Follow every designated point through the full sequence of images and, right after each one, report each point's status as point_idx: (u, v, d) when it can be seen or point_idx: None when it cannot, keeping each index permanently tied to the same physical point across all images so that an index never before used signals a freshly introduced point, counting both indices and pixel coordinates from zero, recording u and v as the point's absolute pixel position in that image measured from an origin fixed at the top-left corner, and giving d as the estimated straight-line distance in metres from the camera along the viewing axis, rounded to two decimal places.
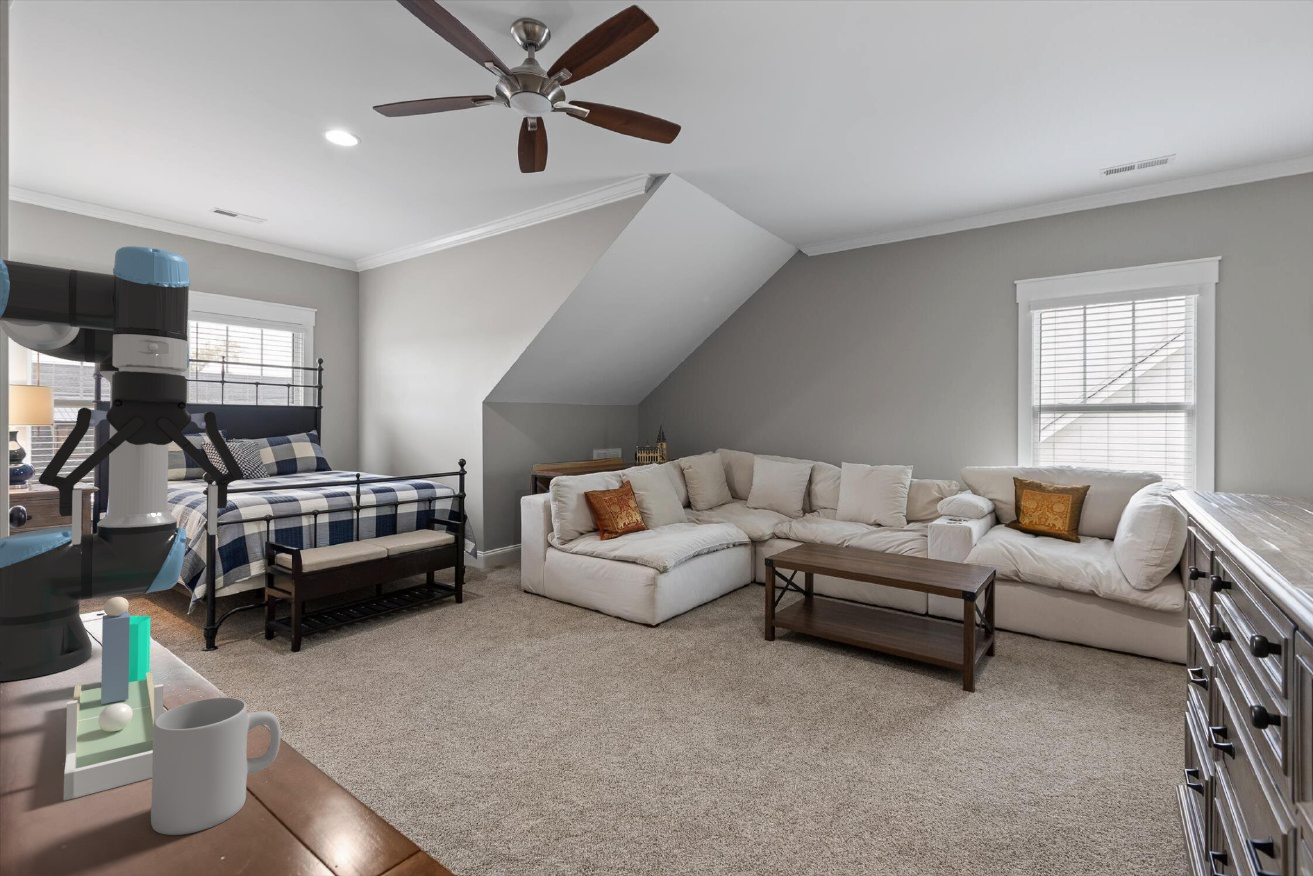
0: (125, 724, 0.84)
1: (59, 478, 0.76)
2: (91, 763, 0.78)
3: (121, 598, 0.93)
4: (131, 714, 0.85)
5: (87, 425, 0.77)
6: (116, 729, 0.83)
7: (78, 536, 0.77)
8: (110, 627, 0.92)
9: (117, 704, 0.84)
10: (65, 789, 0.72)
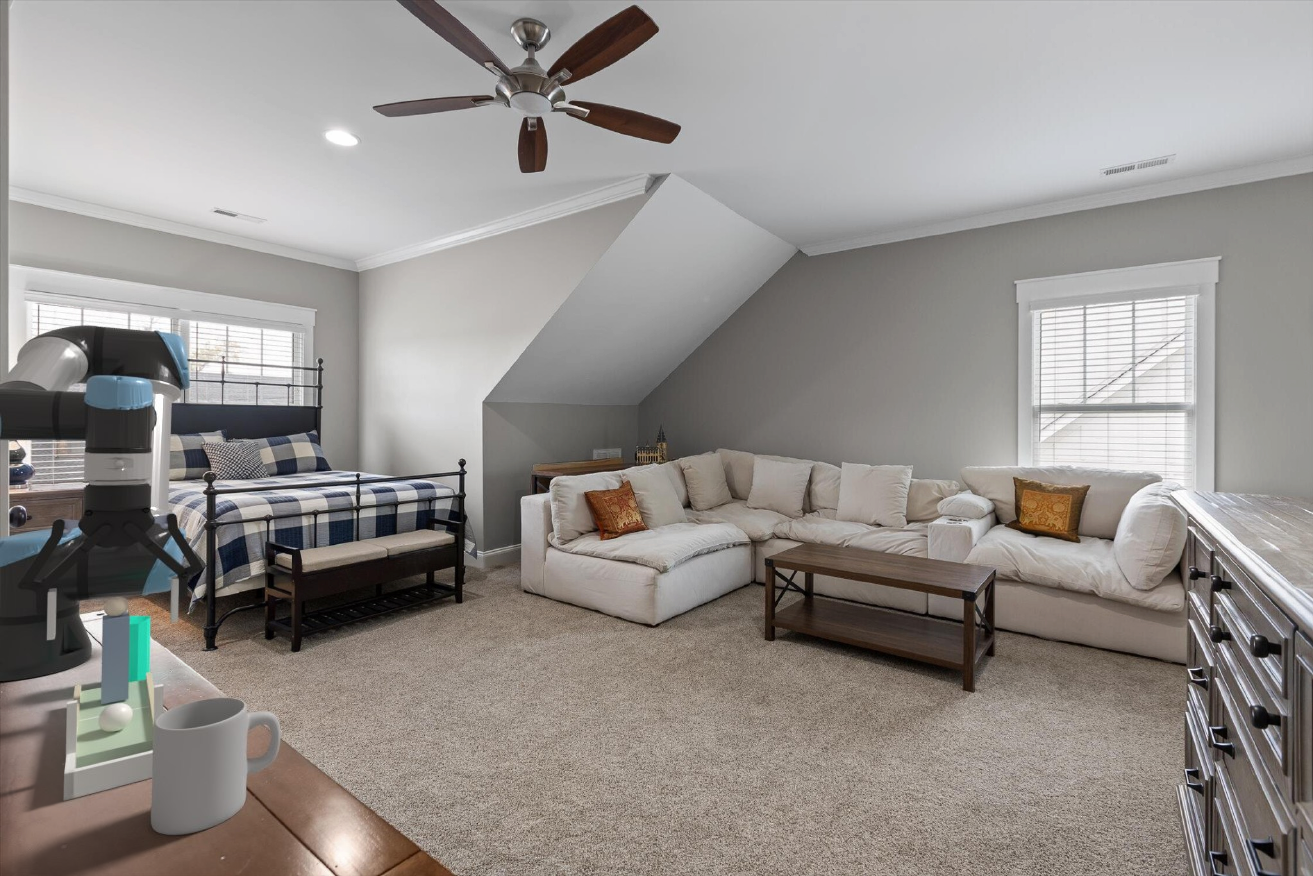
0: (125, 724, 0.84)
1: (36, 582, 0.87)
2: (91, 763, 0.78)
3: (121, 598, 0.93)
4: (131, 714, 0.85)
5: (61, 534, 0.88)
6: (116, 729, 0.83)
7: (52, 632, 0.87)
8: (110, 627, 0.92)
9: (117, 704, 0.84)
10: (65, 789, 0.72)
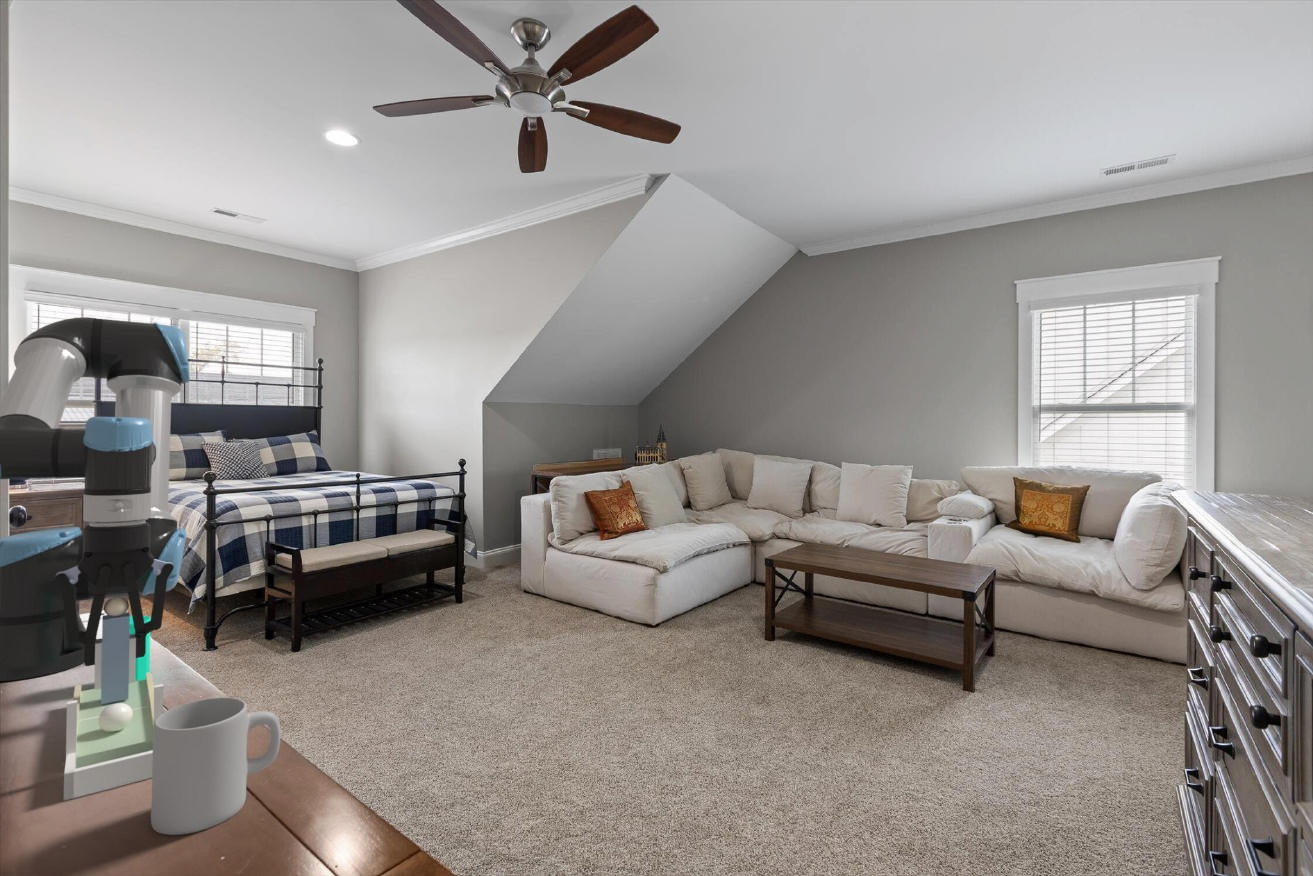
0: (125, 724, 0.84)
1: (84, 634, 0.90)
2: (91, 763, 0.78)
3: (121, 598, 0.93)
4: (131, 714, 0.85)
5: (70, 585, 0.89)
6: (116, 729, 0.83)
7: (100, 682, 0.91)
8: (110, 627, 0.92)
9: (117, 704, 0.84)
10: (65, 789, 0.72)
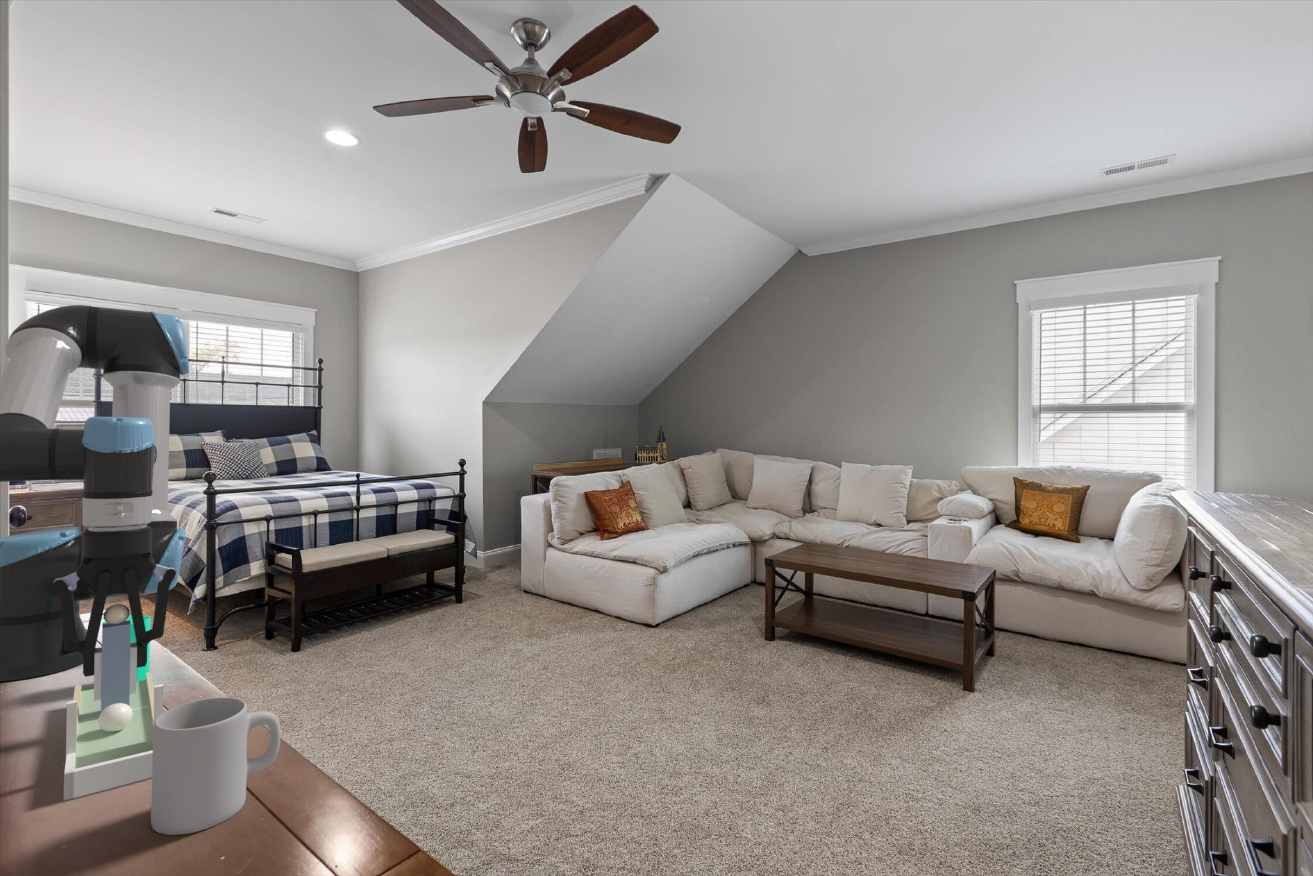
0: (125, 724, 0.84)
1: (83, 644, 0.87)
2: (91, 763, 0.78)
3: (122, 605, 0.90)
4: (131, 714, 0.85)
5: (69, 592, 0.85)
6: (116, 729, 0.83)
7: (99, 693, 0.87)
8: (110, 636, 0.88)
9: (117, 704, 0.84)
10: (65, 789, 0.72)
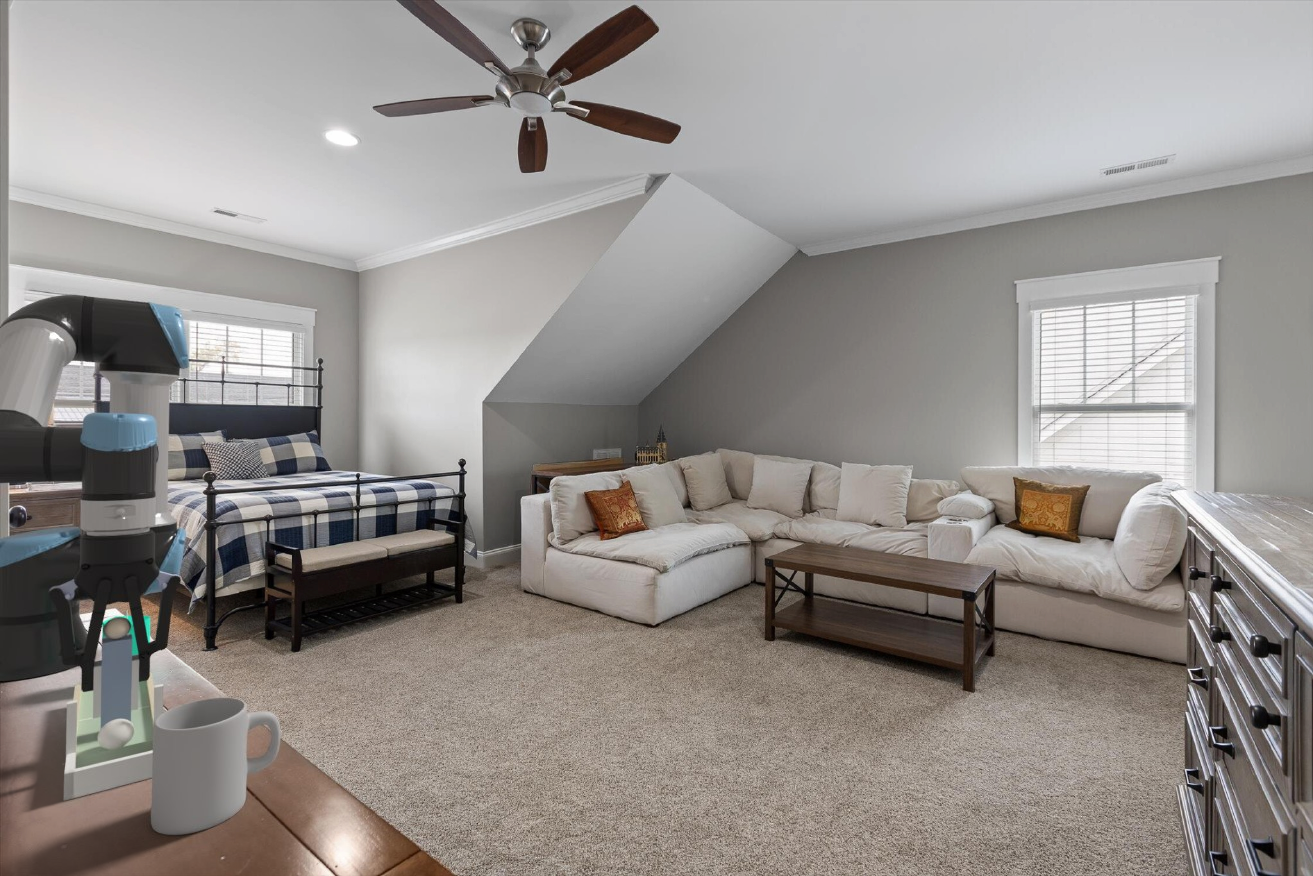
0: None
1: (81, 657, 0.81)
2: (91, 763, 0.78)
3: (123, 618, 0.84)
4: None
5: (66, 602, 0.79)
6: None
7: (99, 710, 0.81)
8: (110, 652, 0.82)
9: (117, 748, 0.79)
10: (65, 789, 0.72)
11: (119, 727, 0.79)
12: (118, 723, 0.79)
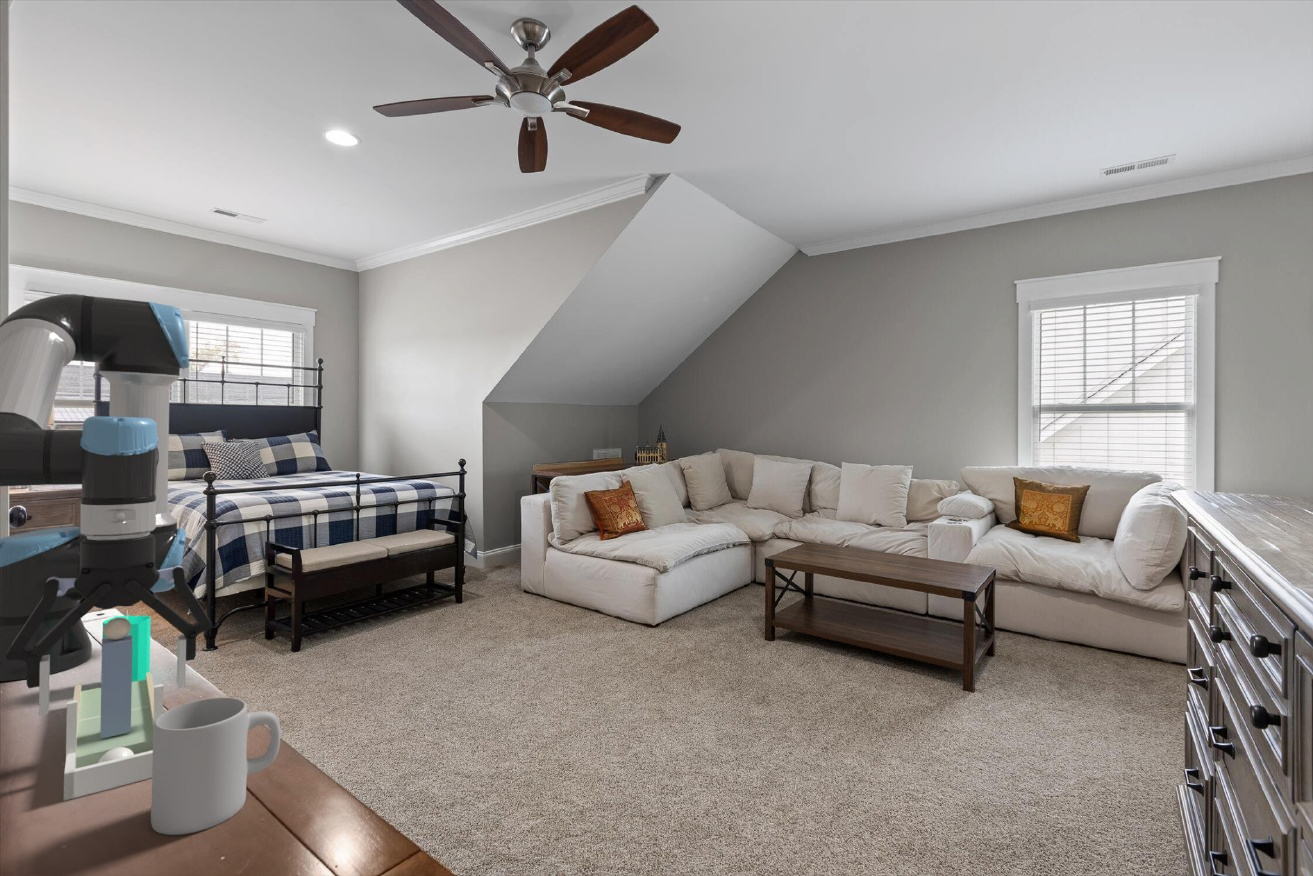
0: None
1: (26, 651, 0.77)
2: (91, 763, 0.78)
3: (123, 619, 0.83)
4: (133, 754, 0.77)
5: (54, 597, 0.78)
6: None
7: (45, 706, 0.78)
8: (110, 652, 0.82)
9: None
10: (65, 789, 0.72)
11: None
12: None
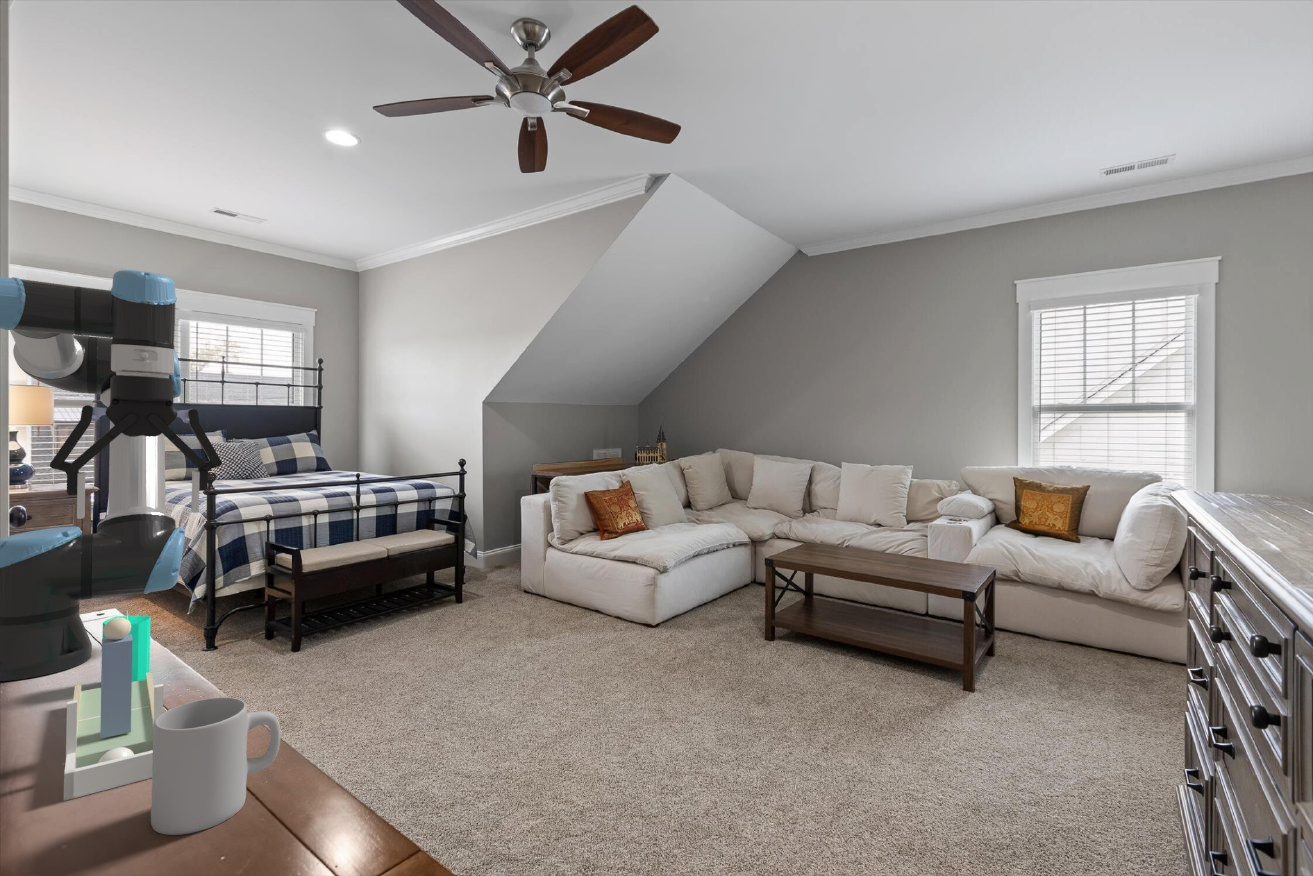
0: None
1: (66, 463, 0.92)
2: (91, 763, 0.78)
3: (123, 619, 0.83)
4: (133, 754, 0.77)
5: (89, 420, 0.93)
6: None
7: (82, 512, 0.93)
8: (110, 652, 0.82)
9: None
10: (65, 789, 0.72)
11: None
12: None
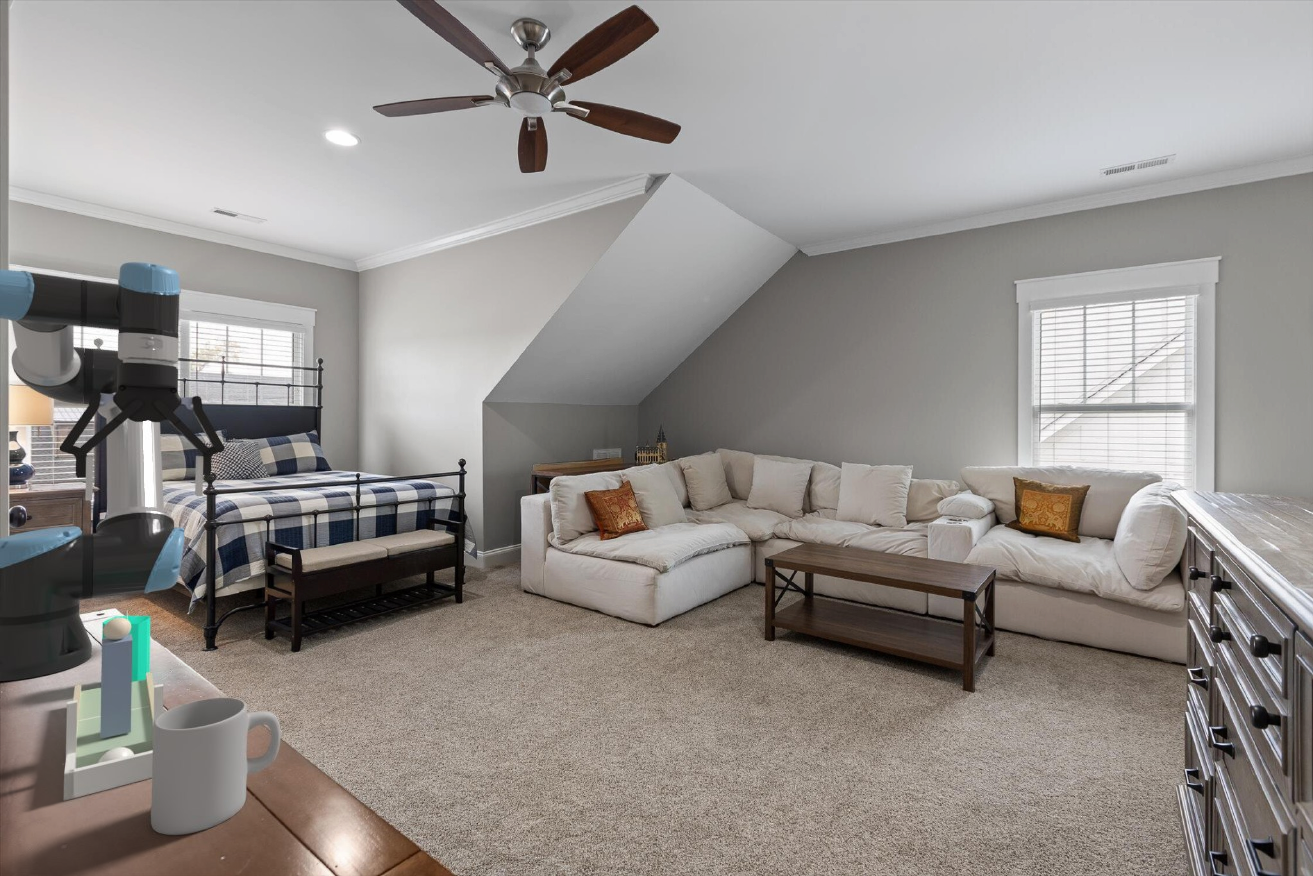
0: None
1: (75, 447, 0.95)
2: (91, 763, 0.78)
3: (123, 619, 0.83)
4: (133, 754, 0.77)
5: (97, 405, 0.96)
6: None
7: (90, 494, 0.96)
8: (110, 652, 0.82)
9: None
10: (65, 789, 0.72)
11: None
12: None
